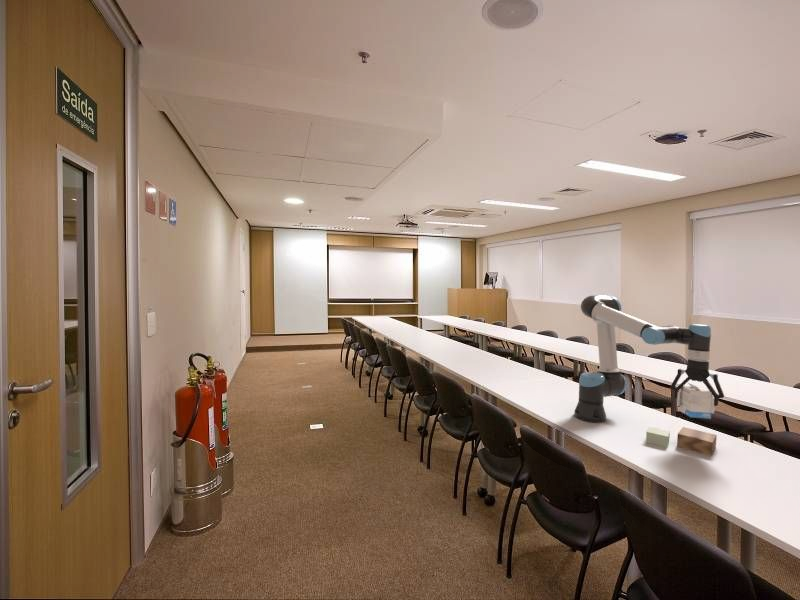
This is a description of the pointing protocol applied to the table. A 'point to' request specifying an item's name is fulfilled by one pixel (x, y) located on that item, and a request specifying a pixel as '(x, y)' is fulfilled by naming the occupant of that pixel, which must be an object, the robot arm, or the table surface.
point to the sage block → (657, 436)
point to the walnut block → (696, 441)
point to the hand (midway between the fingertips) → (695, 409)
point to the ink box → (696, 402)
